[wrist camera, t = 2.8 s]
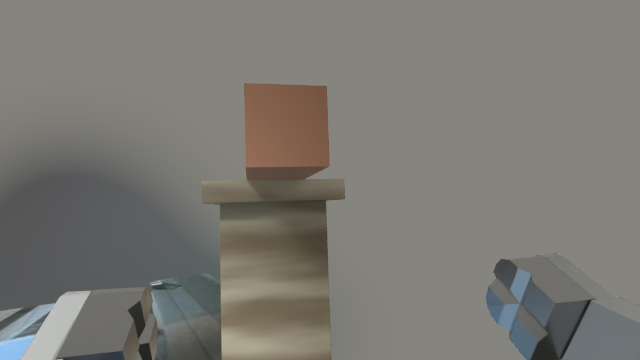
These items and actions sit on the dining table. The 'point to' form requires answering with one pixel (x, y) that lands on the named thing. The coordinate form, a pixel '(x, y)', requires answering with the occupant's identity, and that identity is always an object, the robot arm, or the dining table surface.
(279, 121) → the block
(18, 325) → the dining table surface
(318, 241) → the shelf stand
